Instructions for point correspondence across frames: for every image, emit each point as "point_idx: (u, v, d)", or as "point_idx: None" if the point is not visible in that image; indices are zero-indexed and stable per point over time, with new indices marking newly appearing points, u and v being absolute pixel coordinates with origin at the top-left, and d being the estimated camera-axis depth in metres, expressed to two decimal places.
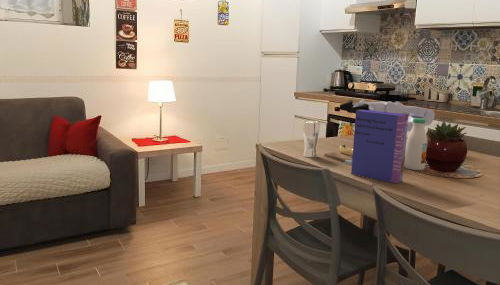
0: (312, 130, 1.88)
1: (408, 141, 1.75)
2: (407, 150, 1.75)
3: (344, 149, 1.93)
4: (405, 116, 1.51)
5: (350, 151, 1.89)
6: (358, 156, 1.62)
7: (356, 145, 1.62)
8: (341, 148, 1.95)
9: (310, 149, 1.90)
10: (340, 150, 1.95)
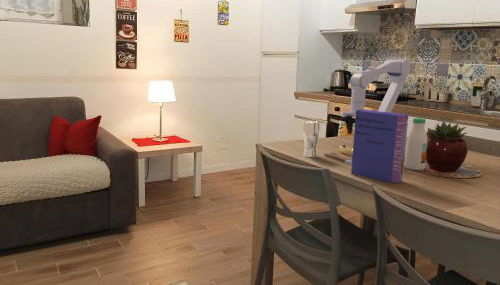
0: (312, 130, 1.88)
1: (408, 141, 1.75)
2: (407, 150, 1.75)
3: (344, 149, 1.93)
4: (405, 116, 1.51)
5: (350, 151, 1.89)
6: (358, 156, 1.62)
7: (356, 145, 1.62)
8: (341, 148, 1.95)
9: (310, 149, 1.90)
10: (340, 150, 1.95)
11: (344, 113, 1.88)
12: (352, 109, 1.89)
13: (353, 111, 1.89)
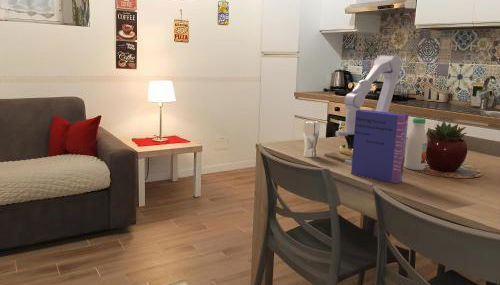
0: (312, 130, 1.88)
1: (408, 141, 1.75)
2: (407, 150, 1.75)
3: (344, 149, 1.93)
4: (405, 116, 1.51)
5: (350, 151, 1.89)
6: (358, 156, 1.62)
7: (356, 145, 1.62)
8: (341, 148, 1.95)
9: (310, 149, 1.90)
10: (340, 150, 1.95)
11: (339, 133, 1.89)
12: (347, 128, 1.90)
13: (348, 130, 1.90)
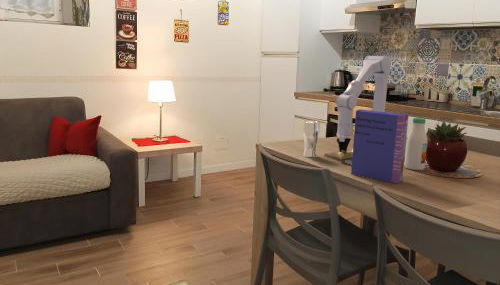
0: (312, 130, 1.88)
1: (408, 141, 1.75)
2: (407, 150, 1.75)
3: (348, 154, 1.84)
4: (405, 116, 1.51)
5: None
6: (358, 156, 1.62)
7: (356, 145, 1.62)
8: (345, 154, 1.82)
9: (310, 149, 1.90)
10: (343, 157, 1.82)
11: (344, 138, 1.79)
12: (345, 132, 1.82)
13: (346, 134, 1.82)
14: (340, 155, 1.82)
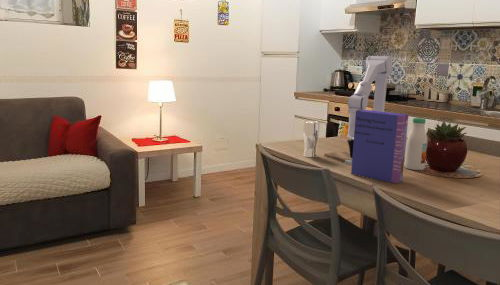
0: (312, 130, 1.88)
1: (408, 141, 1.75)
2: (407, 150, 1.75)
3: None
4: (405, 116, 1.51)
5: None
6: (358, 156, 1.62)
7: (356, 145, 1.62)
8: None
9: (310, 149, 1.90)
10: None
11: None
12: None
13: None
14: None
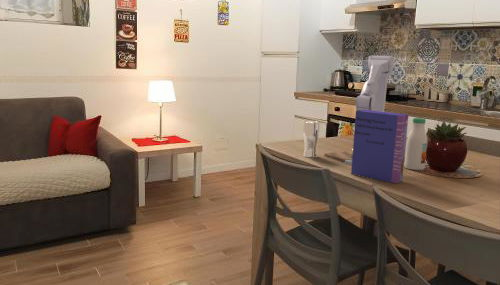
0: (312, 130, 1.88)
1: (408, 141, 1.75)
2: (407, 150, 1.75)
3: None
4: (405, 116, 1.51)
5: None
6: (358, 156, 1.62)
7: (356, 145, 1.62)
8: None
9: (310, 149, 1.90)
10: None
11: None
12: None
13: None
14: None
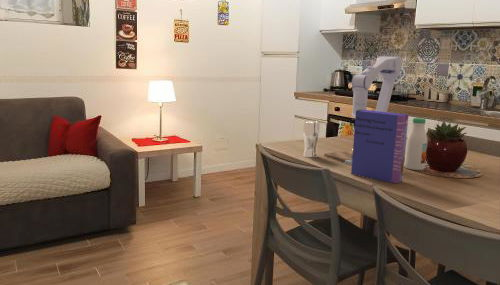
0: (312, 130, 1.88)
1: (408, 141, 1.75)
2: (407, 150, 1.75)
3: None
4: (405, 116, 1.51)
5: None
6: (358, 156, 1.62)
7: (356, 145, 1.62)
8: None
9: (310, 149, 1.90)
10: None
11: None
12: None
13: None
14: None
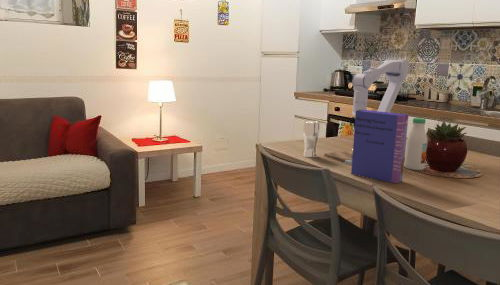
0: (312, 130, 1.88)
1: (408, 141, 1.75)
2: (407, 150, 1.75)
3: None
4: (405, 116, 1.51)
5: None
6: (358, 156, 1.62)
7: (356, 145, 1.62)
8: None
9: (310, 149, 1.90)
10: None
11: None
12: None
13: None
14: None
